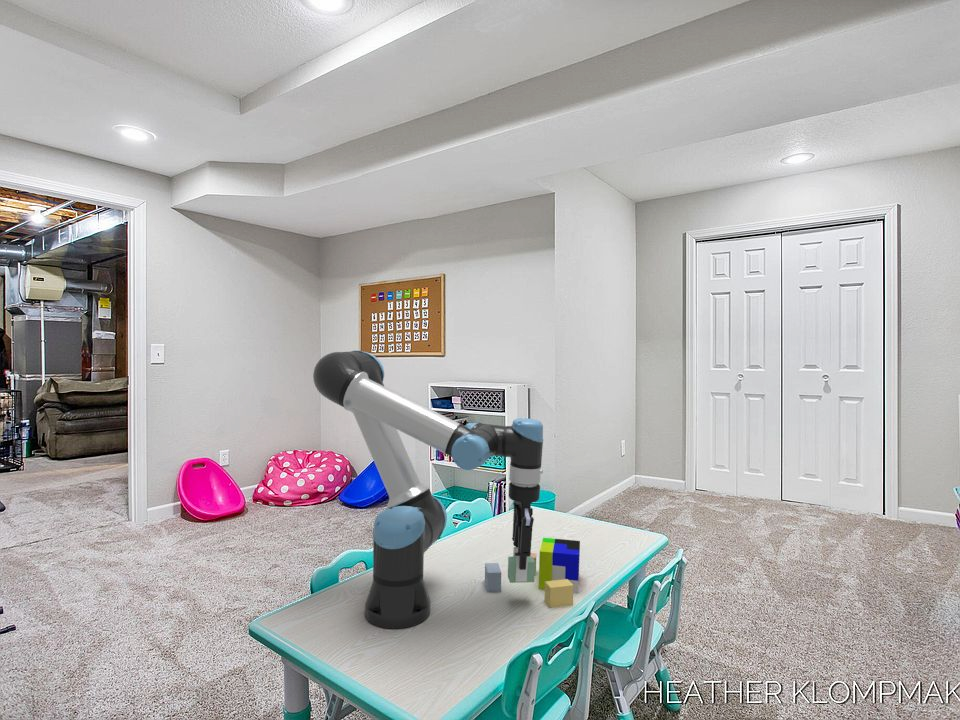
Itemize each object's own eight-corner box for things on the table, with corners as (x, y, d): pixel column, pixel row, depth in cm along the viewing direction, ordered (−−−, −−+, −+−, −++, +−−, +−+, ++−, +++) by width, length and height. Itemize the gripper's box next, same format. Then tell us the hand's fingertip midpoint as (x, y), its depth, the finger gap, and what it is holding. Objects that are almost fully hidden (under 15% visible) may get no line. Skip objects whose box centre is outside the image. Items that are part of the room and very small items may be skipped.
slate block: (501, 591, 142) (501, 572, 142) (487, 592, 141) (487, 572, 141) (497, 581, 148) (498, 562, 148) (484, 581, 147) (485, 563, 147)
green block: (509, 582, 134) (510, 562, 134) (507, 576, 138) (508, 556, 137) (534, 582, 135) (535, 562, 135) (531, 575, 138) (532, 556, 138)
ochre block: (550, 608, 134) (550, 587, 134) (544, 601, 137) (545, 581, 137) (572, 605, 135) (573, 585, 135) (566, 598, 139) (567, 579, 139)
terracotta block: (513, 574, 152) (513, 556, 152) (514, 569, 156) (514, 551, 156) (535, 576, 151) (535, 558, 151) (535, 570, 155) (536, 553, 155)
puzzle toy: (577, 593, 142) (579, 555, 141) (538, 589, 144) (539, 551, 143) (578, 577, 151) (579, 540, 151) (542, 573, 153) (543, 537, 153)
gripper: (547, 493, 127) (541, 593, 128) (533, 474, 144) (527, 562, 145) (515, 492, 126) (509, 593, 128) (504, 473, 143) (499, 562, 144)
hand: (519, 576), depth 136 cm, fingers closed on green block, 3 cm apart
